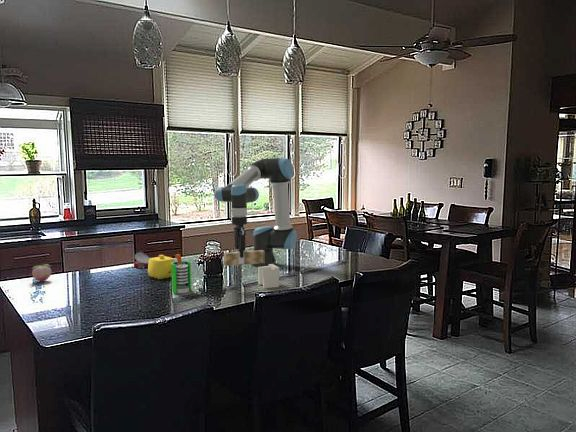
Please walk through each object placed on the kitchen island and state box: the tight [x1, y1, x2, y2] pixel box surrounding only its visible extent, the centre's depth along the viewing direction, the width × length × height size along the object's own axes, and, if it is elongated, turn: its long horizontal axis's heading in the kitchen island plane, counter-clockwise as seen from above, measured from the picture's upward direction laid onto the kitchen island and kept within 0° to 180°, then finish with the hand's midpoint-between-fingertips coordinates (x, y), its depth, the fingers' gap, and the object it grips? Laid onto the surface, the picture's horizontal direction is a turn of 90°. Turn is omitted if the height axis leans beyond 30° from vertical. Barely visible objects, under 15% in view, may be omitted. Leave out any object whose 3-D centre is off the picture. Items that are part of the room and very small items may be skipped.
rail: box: [223, 250, 265, 267], centre depth 238 cm, size 20×4×6 cm, turn 111°
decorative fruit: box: [31, 263, 52, 282], centre depth 253 cm, size 9×8×10 cm
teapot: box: [147, 254, 176, 280], centre depth 263 cm, size 20×12×12 cm, turn 46°
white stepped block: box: [257, 264, 280, 289], centre depth 242 cm, size 9×8×10 cm
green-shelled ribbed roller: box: [171, 253, 192, 294], centre depth 232 cm, size 9×8×18 cm
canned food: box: [133, 251, 151, 269], centre depth 288 cm, size 11×10×10 cm
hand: (240, 262), depth 238 cm, fingers closed on rail, 4 cm apart
